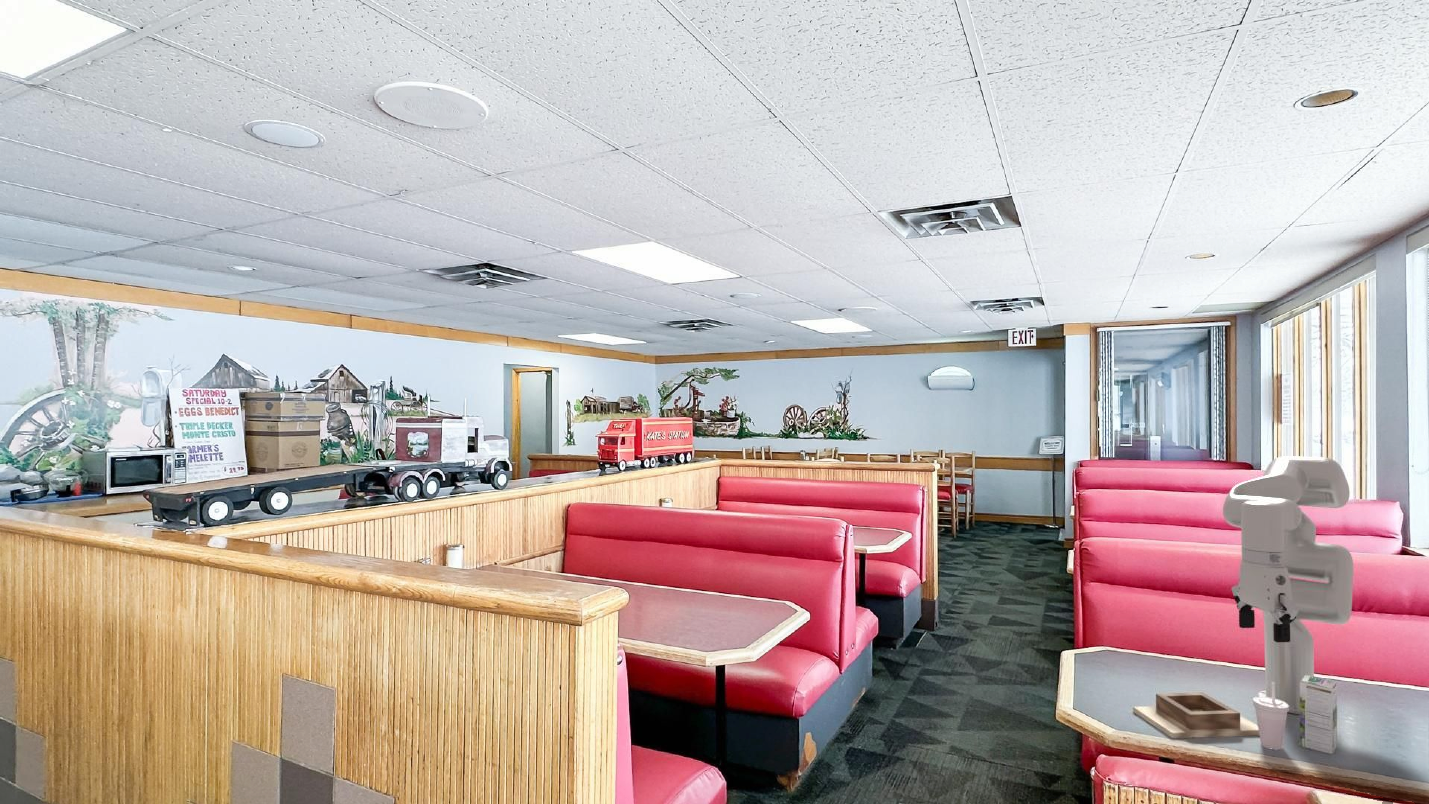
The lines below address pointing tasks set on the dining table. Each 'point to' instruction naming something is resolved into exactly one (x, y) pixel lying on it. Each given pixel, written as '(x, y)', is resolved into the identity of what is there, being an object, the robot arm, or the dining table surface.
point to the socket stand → (1195, 717)
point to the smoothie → (1271, 719)
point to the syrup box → (1318, 714)
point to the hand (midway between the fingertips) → (1263, 634)
